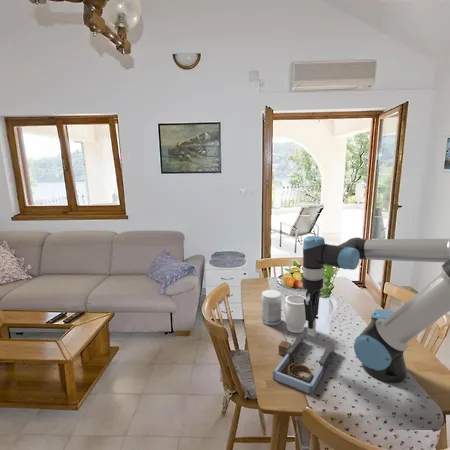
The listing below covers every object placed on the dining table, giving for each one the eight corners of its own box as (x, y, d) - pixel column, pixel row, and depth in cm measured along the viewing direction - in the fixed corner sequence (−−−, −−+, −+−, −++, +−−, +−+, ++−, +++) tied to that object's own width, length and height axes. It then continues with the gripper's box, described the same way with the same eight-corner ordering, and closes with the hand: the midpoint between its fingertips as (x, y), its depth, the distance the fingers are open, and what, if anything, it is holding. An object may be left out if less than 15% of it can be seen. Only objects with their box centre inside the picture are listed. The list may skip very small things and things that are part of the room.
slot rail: (300, 341, 140) (301, 332, 139) (334, 351, 132) (334, 342, 131) (286, 360, 127) (286, 351, 126) (322, 373, 119) (323, 363, 118)
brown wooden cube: (290, 351, 132) (291, 343, 131) (287, 356, 129) (288, 348, 128) (281, 349, 134) (281, 340, 133) (278, 354, 131) (278, 345, 130)
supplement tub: (283, 319, 158) (284, 292, 155) (276, 328, 150) (277, 299, 147) (265, 314, 163) (266, 288, 160) (258, 322, 155) (258, 294, 152)
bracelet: (283, 371, 120) (283, 364, 120) (302, 366, 123) (303, 359, 123) (295, 386, 112) (295, 379, 112) (316, 380, 115) (316, 373, 115)
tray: (286, 360, 126) (286, 353, 126) (322, 373, 119) (323, 366, 118) (272, 379, 116) (273, 371, 115) (311, 394, 108) (312, 386, 108)
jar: (307, 335, 144) (308, 305, 141) (283, 333, 146) (284, 303, 143) (306, 324, 154) (307, 295, 151) (284, 322, 156) (285, 293, 153)
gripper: (308, 270, 127) (307, 325, 131) (297, 280, 116) (296, 339, 121) (327, 273, 123) (326, 329, 127) (317, 284, 112) (315, 345, 117)
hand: (311, 334), depth 124 cm, fingers closed
